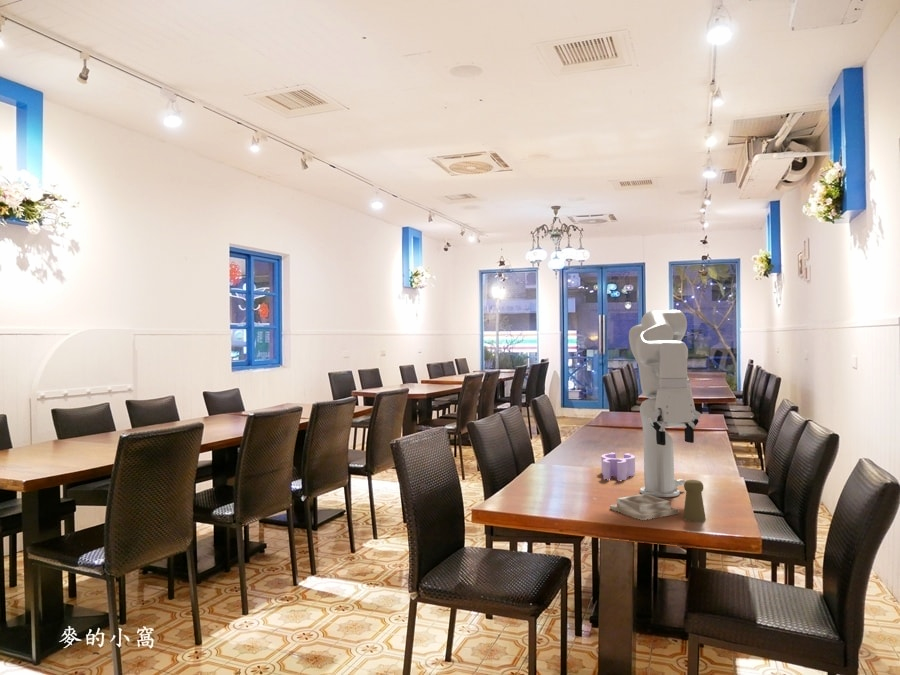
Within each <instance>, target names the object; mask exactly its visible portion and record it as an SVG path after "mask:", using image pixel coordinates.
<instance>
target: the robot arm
mask: <svg viewBox="0 0 900 675" xmlns="http://www.w3.org/2000/svg"><path fill="white" fill-rule="evenodd" d="M687 328H688V321H687V316H686V315H685V314H684V312H682V310H677V309H670V310H668V309H666V310H664V309H663V310H660V309H659V310H652V311H651V310H650V311H648V312H646V313H644V315H643V316H642V317H641V320H640V324H636V325H634V326H632V327H631V328H630V329H629V331H628V343H629V348H630V350H631V353H632V355H633V357H634V359H635V361H636V362H637V366H638V373H639V374H638V375H639V381H640V382H639V383H640V387H641V393H642V395H643V396H644V398H647V399H645V400H643V401H642V402H641V404H640V406H639V414H640V419H641V420H640V421H641V425H642V435H643V436H642V437H643V440H642V441H643V464H644V465H643V467H644V468H643V469H644V473H643V474H644V486H642V487H640V488H639V492H640V494H647V495H651V496H654V497H657V498H672V497H673V498H674V497H678V496H679V495H680V492H681V491H680V489H678V488H677V487H678V486H684V483H685V482H686V480H684V479H683V478H681V479H680V478H679V479H677V478H675V459H674V458H675V457H674V454H675V453H674V440H673V437H672V436H671V435H670V434H669V433H668V431H667V430H666V429H665V428H684V430H683V431H684V442H686V443H690V444H693V443H694V441H695V434H694V433H695V432H694V430H695V429H696V427H697V425H698V424H699V420H700V417H701V415H702V414H701V412H700V411H698V410H696V407H695V402H694V397H693V389H692V384H691V381H690V379H689V376H688V358H689V348H688V346H687V344H686V342H684V341H682V340H683V339H684V337H685V334H686V333H687Z"/></svg>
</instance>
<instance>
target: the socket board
mask: <svg viewBox="0 0 900 675" xmlns="http://www.w3.org/2000/svg"><path fill="white" fill-rule="evenodd" d="M671 505H672V504H671V501H670V500H667V499H664V498H662V497H654V496H651V495H647V494H642V493H639V494H635V495H629V496H623V497H617V498H616V503H615V504H610V505H609V510H610V509H612V510H611V511H613V510H615V511H614V512H616V511H618V512H617V513H619V512H621V513H620V514H622V513H623V514H622V515H625V514H626V515H625V516H628V515H629V516H628V517H630V516H632V517H631V518H633V517H635V518H634V519H636V518H638V519H637V520H639V519H640V520H639V521H642V520H643V521H647V519H648V520H653V519H658V517H659V518H662V517H663V516H664V517H668V516H669V517H670V516H675V515H679V509H677V508H675V507H672V506H671ZM664 517H663V518H664ZM652 518H653V519H652Z"/></svg>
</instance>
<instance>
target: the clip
mask: <svg viewBox="0 0 900 675" xmlns="http://www.w3.org/2000/svg"><path fill="white" fill-rule="evenodd" d="M616 456H617V455H616V453H615V452H611V451H610V452H609V453H604V454H601V460H600V462H601V474H602V476H603V480H605V479H608V480H609V479H611V478H612V477H611V476H615V477H614V478H616V479H617V480H618V481H617V482H621V481H620V480H625V481H627V480H626V479H627V478H630V477H629V476H631V477H635V475H636V457H635V455H633V454H632V453H630V452H627V453H624V454H623V458H616ZM608 480H607V481H608ZM611 480H612V479H611Z"/></svg>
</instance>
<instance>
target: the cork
mask: <svg viewBox="0 0 900 675" xmlns="http://www.w3.org/2000/svg"><path fill="white" fill-rule="evenodd" d="M683 488H684V489H683V490H685V501H684V509H683V517H682V518H683V520H685V521H689V522H694V521H696V522H698V523H699V522H705V521H706V520H707V519H706V513H705V505H704V500H703V493H702V492H703V490H704V484H703V482H702V481H701V480H698V479H687V480H685V483H684V485H683ZM696 522H695V523H696Z"/></svg>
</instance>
